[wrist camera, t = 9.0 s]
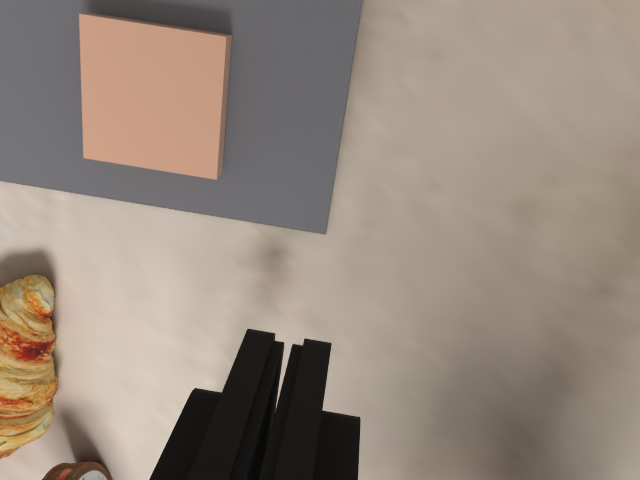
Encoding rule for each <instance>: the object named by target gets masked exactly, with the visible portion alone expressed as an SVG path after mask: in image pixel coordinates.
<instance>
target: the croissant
mask: <svg viewBox="0 0 640 480" xmlns="http://www.w3.org/2000/svg"><path fill="white" fill-rule="evenodd" d="M54 307H55V303H54V290H53V288H52V287H51V284H50V282H49V281H48V279H47V278H45V277H43V276H41V275H31V276H25V278H24V279H17V280H14V281H13V282H10V283H7V284H6V285H4V286H3V287H0V459H1V458H3V457H8V456H10V455H11V454H12V453H13V452H14V451H16V450H17V449H18V448H19V447H20V446H22V445H25V444H27V443H29V442H31V441H33V440H35V439H38V438H40V437H41V436H42V435H43V434H44V433H45V432H46V431H47V430H48V428H49V425H50V423H51V420H52V418H53V416H54V410H53V396H54V395H55V393H56V390H57V383H58V380H57V377H55V371H54V363H53V359H54V357H52V356H51V353H52V351H53V350H54V348H55V339H56V337H55V334H54V332H53V329H52V321H51V320H50V319H49V318H50V316H51V315H52V311H53V310H54Z"/></svg>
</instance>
